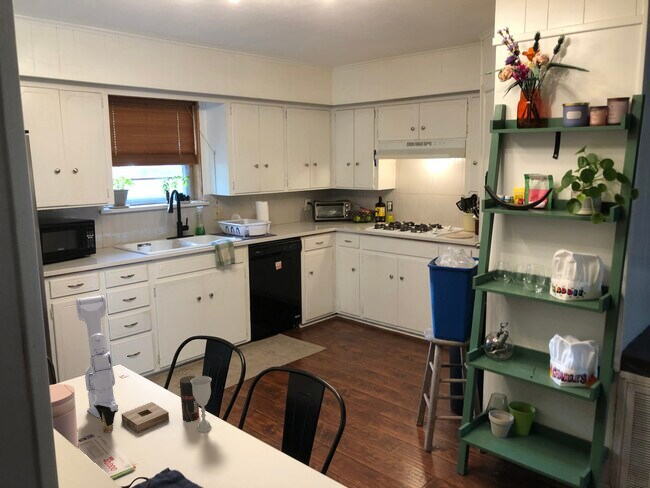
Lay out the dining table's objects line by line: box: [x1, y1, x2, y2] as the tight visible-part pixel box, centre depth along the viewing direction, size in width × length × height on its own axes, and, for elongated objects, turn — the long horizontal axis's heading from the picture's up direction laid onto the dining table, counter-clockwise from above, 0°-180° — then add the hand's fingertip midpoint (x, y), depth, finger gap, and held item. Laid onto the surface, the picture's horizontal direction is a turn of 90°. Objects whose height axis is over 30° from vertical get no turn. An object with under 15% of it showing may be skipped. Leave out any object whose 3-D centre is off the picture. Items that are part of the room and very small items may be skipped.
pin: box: [102, 414, 114, 433], centre depth 184 cm, size 3×3×7 cm
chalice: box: [190, 375, 213, 433], centre depth 183 cm, size 7×7×18 cm
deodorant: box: [179, 375, 200, 423], centre depth 190 cm, size 6×6×15 cm
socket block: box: [120, 401, 170, 434], centre depth 190 cm, size 12×12×3 cm
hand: (107, 423), depth 184 cm, fingers closed on pin, 3 cm apart
